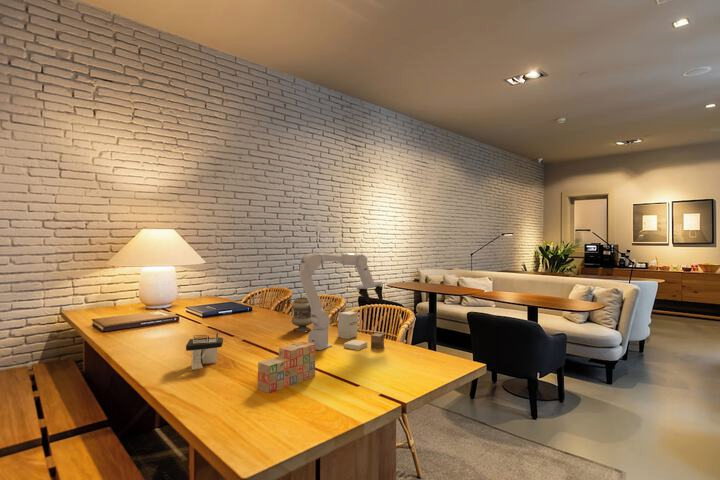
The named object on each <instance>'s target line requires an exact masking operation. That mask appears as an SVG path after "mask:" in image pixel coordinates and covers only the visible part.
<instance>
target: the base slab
mask: <svg viewBox="0 0 720 480" xmlns="http://www.w3.org/2000/svg"><path fill="white" fill-rule="evenodd" d="M367 347H368V341H364V340H357V339H351V340H349V341H347V342H344V343H343V348H345V349H351V350H355V351H360V350H361V349H364V348H367Z"/></svg>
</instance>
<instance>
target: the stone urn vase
mask: <svg viewBox="0 0 720 480" xmlns="http://www.w3.org/2000/svg"><path fill="white" fill-rule="evenodd" d="M291 308H292V309H293V317H292V318H291V324H293V325H294V326H296V327H295V328H294V329H293V331H294V332H295V331H296V332H295V333H306V332H305V331H309V332H310V330H311V331H312V328H311V327H308V326H310V325H311V324H313V323H312V321H311V307H310V305H309V302H308V299H307V296H306V297H302V296H301V297H299V296H298V297H295V298H294V301H293V302H292V304H291Z"/></svg>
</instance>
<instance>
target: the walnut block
mask: <svg viewBox="0 0 720 480" xmlns="http://www.w3.org/2000/svg"><path fill="white" fill-rule="evenodd" d="M371 348H372V349H375V348H376V350H380V348H381V349H383V348H385V334H384V333H383V334H382V333H377V332H375V333H372V334H371V335H370V349H371Z"/></svg>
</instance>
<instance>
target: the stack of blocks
mask: <svg viewBox="0 0 720 480" xmlns="http://www.w3.org/2000/svg"><path fill="white" fill-rule="evenodd" d="M315 377H316V349H315V344H313V343H308V342H307V341H300V342H296V343H295V342H294V343H292V344H288V345H284V346H282V347H279V348H278V356H276V357H271V358H268V359H265V360H261V361H258V362H257V389H258V390H260V391H262V392H266V393H268V394H270V393H273V392H275V391H276V392H277V391H280V390H281V389H286V388H288V387H290V386H293V385H296V384H299V383H300V382H303V381H306V380H309V379H312V378H315Z"/></svg>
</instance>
